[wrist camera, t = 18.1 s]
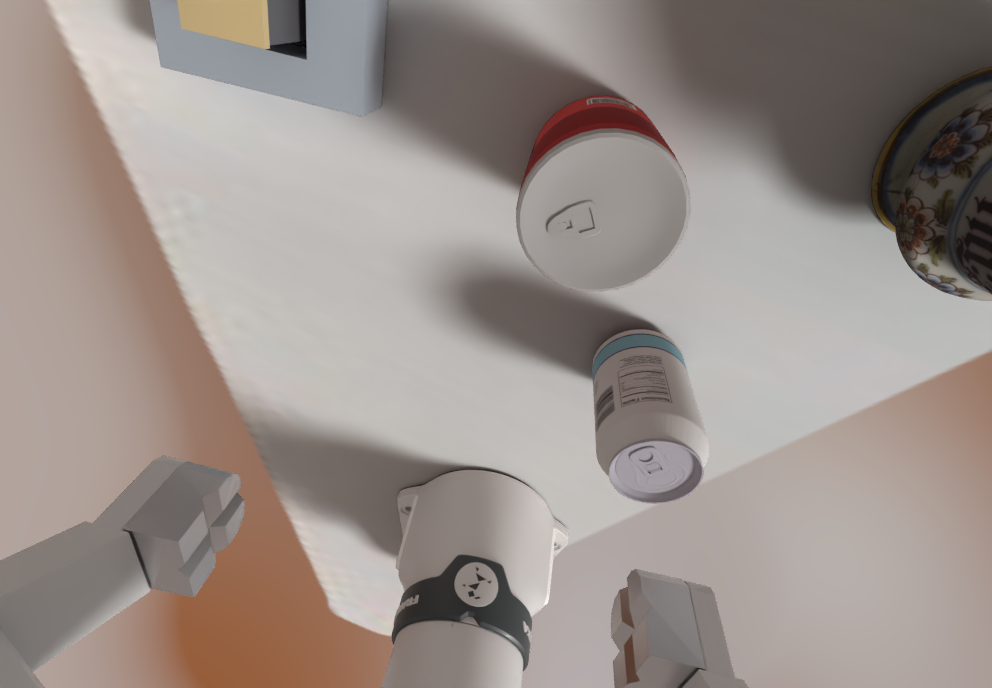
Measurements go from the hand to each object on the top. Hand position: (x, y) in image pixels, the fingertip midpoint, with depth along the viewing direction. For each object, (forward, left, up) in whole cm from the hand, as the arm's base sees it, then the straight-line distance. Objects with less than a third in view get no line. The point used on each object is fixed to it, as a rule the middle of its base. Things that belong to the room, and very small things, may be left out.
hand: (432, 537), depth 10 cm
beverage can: (-12, -12, -28) cm, 33 cm away
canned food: (+2, -4, -28) cm, 28 cm away
